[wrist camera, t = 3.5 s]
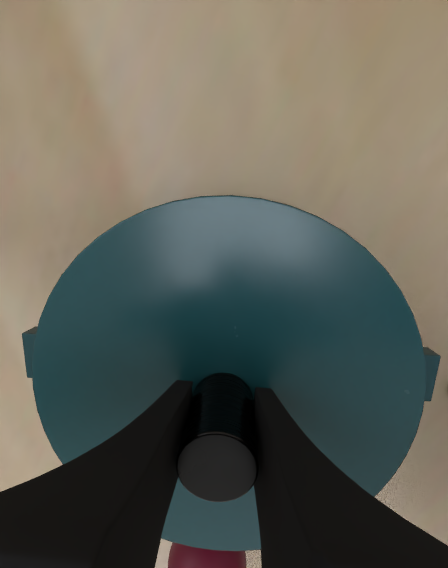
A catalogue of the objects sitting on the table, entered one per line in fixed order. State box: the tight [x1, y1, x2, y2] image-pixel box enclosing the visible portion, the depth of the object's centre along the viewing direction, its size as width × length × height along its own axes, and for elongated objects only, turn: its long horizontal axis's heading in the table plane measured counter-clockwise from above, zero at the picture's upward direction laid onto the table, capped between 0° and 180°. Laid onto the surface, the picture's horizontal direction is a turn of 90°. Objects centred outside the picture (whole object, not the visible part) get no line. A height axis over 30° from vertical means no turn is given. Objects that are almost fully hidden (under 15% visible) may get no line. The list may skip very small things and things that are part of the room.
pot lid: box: [32, 195, 426, 551], centre depth 10 cm, size 16×16×4 cm
